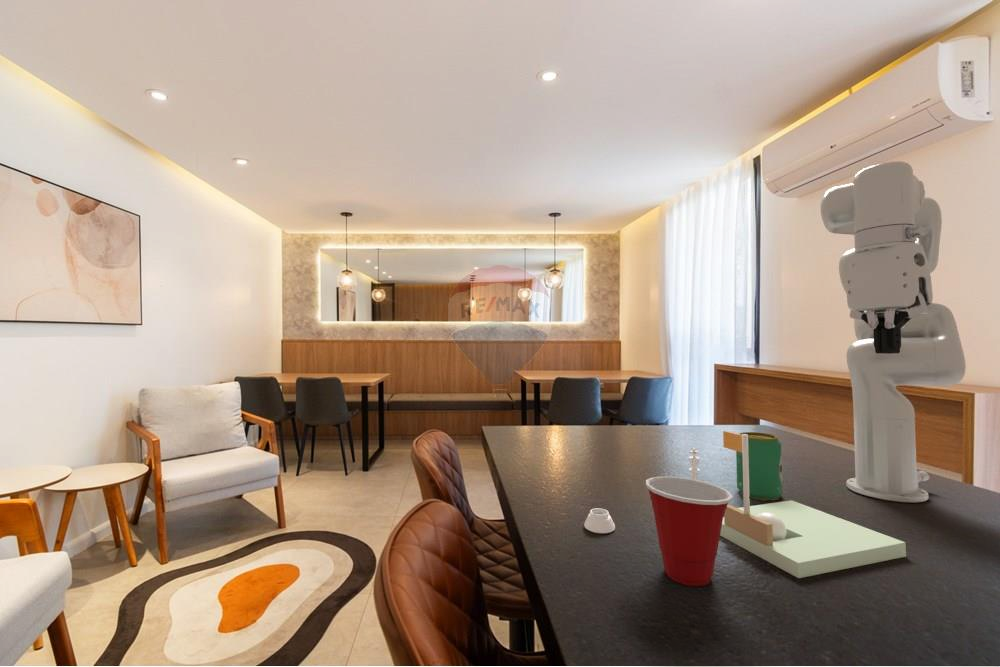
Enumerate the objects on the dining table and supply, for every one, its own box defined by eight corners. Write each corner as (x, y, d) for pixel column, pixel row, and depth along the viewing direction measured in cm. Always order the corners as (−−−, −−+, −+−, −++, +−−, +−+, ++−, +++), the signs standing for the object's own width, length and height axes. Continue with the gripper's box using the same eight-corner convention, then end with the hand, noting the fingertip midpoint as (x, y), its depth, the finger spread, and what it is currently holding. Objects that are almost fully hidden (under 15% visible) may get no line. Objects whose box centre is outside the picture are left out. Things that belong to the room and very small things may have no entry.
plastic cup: (755, 589, 56) (752, 493, 56) (683, 604, 52) (680, 503, 53) (694, 550, 66) (692, 470, 66) (631, 561, 63) (629, 477, 63)
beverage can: (787, 503, 85) (786, 440, 85) (741, 498, 87) (739, 438, 88) (776, 490, 92) (775, 432, 93) (734, 486, 95) (732, 430, 95)
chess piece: (711, 503, 85) (710, 451, 85) (684, 502, 86) (683, 450, 86) (705, 495, 90) (703, 445, 90) (679, 493, 91) (678, 444, 91)
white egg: (752, 543, 70) (772, 526, 71) (777, 556, 65) (798, 538, 66) (740, 518, 69) (760, 502, 70) (764, 530, 65) (786, 512, 66)
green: (791, 511, 81) (789, 418, 81) (906, 556, 63) (902, 437, 64) (700, 524, 75) (698, 424, 76) (798, 578, 58) (795, 448, 58)
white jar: (587, 521, 78) (582, 533, 73) (587, 504, 78) (581, 515, 73) (616, 525, 76) (612, 537, 71) (616, 508, 76) (612, 519, 71)
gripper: (957, 231, 66) (961, 353, 66) (853, 251, 81) (856, 352, 80) (922, 228, 64) (926, 354, 64) (822, 249, 78) (825, 353, 78)
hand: (887, 353), depth 72 cm, fingers closed
